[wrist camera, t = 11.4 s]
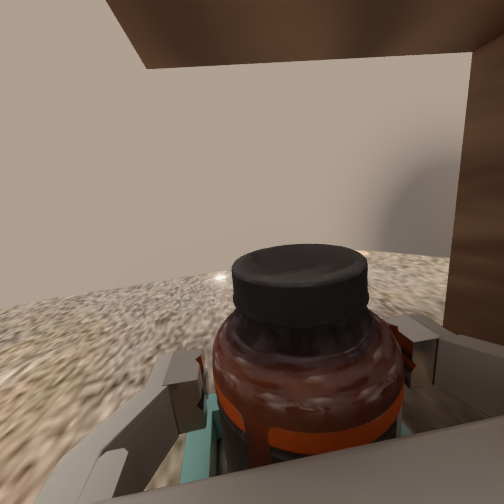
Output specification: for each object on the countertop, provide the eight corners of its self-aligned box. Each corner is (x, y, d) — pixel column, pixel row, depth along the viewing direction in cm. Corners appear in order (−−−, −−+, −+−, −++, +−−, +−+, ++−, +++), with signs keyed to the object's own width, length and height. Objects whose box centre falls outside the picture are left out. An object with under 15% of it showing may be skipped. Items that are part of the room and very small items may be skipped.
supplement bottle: (425, 544, 9) (464, 252, 6) (309, 736, 6) (281, 344, 3) (309, 422, 14) (301, 231, 11) (215, 493, 11) (173, 259, 8)
